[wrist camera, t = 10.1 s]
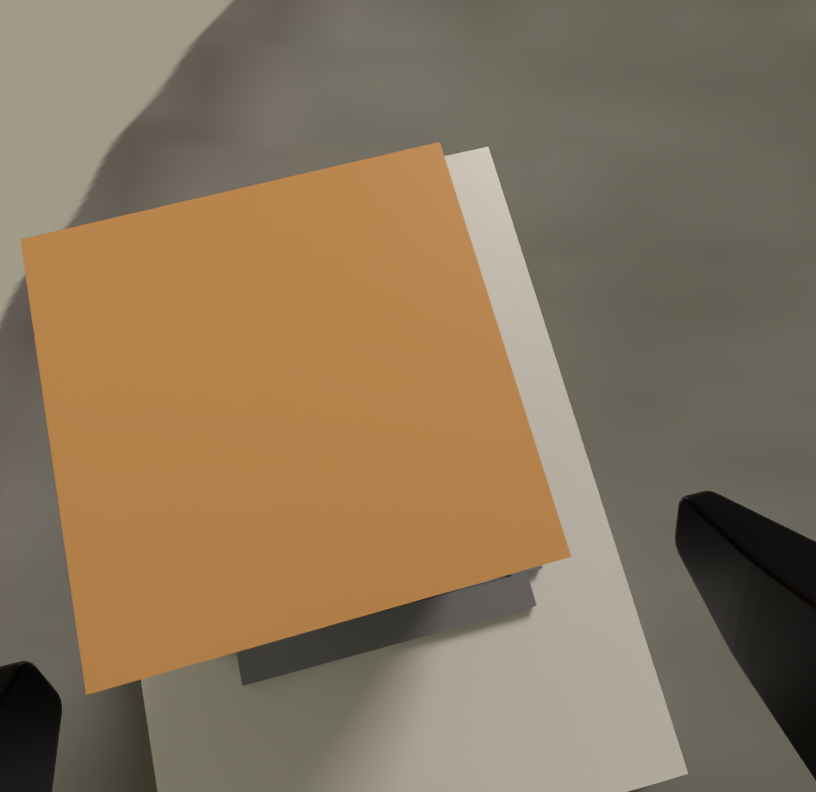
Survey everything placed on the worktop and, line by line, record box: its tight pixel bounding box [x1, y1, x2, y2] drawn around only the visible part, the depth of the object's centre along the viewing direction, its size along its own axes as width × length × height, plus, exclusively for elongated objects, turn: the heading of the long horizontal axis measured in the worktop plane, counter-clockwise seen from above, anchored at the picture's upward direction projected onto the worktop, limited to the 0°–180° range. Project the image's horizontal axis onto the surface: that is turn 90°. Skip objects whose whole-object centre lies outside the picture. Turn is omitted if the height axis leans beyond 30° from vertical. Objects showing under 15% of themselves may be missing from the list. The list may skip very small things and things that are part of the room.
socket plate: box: [141, 147, 688, 792], centre depth 16 cm, size 17×12×2 cm
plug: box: [21, 142, 571, 695], centre depth 12 cm, size 4×4×12 cm
